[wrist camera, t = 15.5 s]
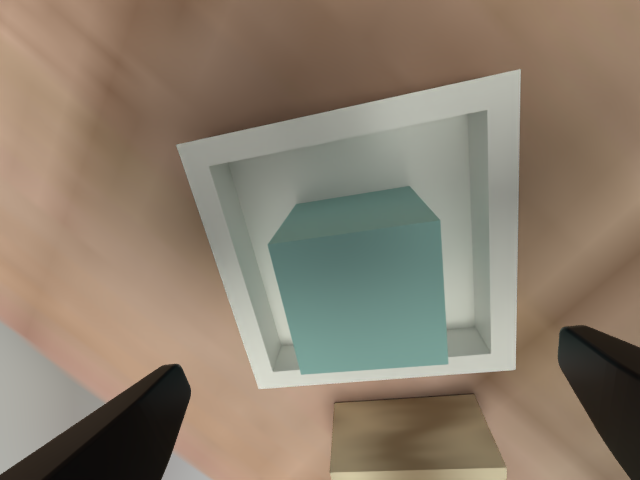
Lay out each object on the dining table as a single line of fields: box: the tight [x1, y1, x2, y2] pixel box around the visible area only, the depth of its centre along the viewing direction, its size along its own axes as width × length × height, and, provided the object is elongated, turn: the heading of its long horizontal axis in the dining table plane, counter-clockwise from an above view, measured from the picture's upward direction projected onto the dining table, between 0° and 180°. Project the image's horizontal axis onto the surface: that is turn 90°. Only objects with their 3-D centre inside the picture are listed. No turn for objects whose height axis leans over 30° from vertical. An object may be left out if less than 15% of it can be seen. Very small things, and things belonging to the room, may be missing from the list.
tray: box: [176, 69, 521, 389], centre depth 14 cm, size 12×12×2 cm
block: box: [268, 186, 448, 375], centre depth 12 cm, size 5×5×5 cm
